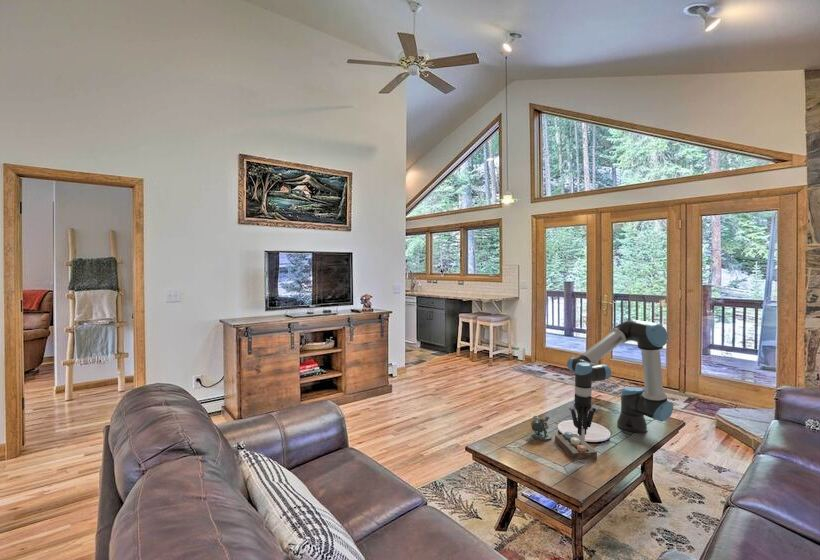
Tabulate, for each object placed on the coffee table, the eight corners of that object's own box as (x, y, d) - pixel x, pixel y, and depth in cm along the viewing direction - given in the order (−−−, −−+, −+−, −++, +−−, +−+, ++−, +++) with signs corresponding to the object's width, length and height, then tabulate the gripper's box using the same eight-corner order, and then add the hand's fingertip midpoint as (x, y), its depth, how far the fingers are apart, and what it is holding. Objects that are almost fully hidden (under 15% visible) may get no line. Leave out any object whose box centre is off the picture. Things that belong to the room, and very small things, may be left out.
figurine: (552, 441, 215) (553, 420, 214) (532, 440, 217) (532, 418, 217) (550, 433, 226) (550, 412, 225) (530, 431, 228) (530, 411, 227)
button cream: (576, 442, 209) (577, 437, 209) (581, 446, 204) (581, 441, 204) (568, 443, 208) (569, 437, 208) (573, 447, 204) (573, 441, 204)
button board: (576, 440, 217) (576, 433, 217) (596, 459, 197) (597, 452, 197) (554, 441, 216) (555, 434, 216) (573, 460, 196) (573, 453, 196)
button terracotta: (583, 450, 202) (583, 444, 202) (588, 454, 198) (588, 448, 198) (575, 450, 202) (575, 444, 202) (579, 455, 198) (579, 449, 197)
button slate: (570, 437, 215) (570, 431, 215) (574, 440, 211) (575, 435, 211) (562, 437, 215) (563, 431, 215) (566, 441, 211) (567, 435, 210)
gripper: (591, 391, 203) (590, 436, 204) (566, 392, 201) (565, 438, 203) (599, 396, 195) (598, 443, 197) (574, 397, 194) (573, 445, 195)
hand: (581, 440), depth 200 cm, fingers closed
